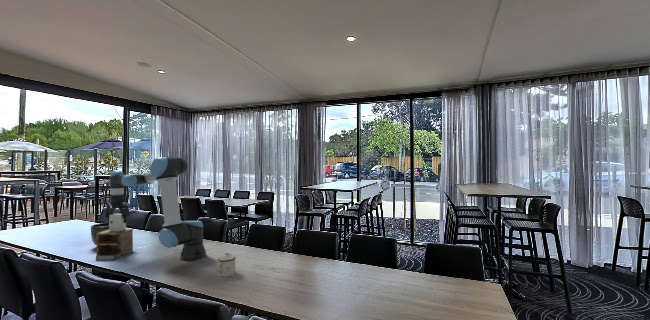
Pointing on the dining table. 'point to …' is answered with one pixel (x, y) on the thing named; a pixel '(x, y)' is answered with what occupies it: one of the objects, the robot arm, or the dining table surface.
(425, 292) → the dining table surface
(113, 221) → the pale green block
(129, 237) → the wood-grain box
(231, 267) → the teacup with lid
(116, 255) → the grey drawer
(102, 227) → the planter
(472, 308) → the dining table surface
